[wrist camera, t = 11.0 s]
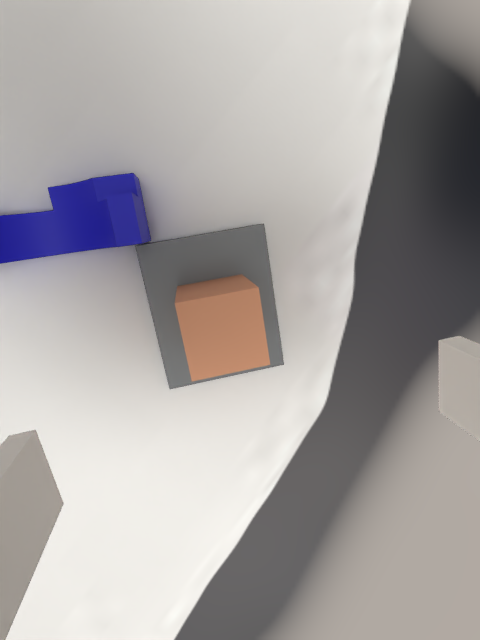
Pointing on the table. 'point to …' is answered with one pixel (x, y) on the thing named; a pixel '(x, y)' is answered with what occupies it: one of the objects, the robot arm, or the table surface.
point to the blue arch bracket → (78, 220)
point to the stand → (197, 266)
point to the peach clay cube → (221, 326)
